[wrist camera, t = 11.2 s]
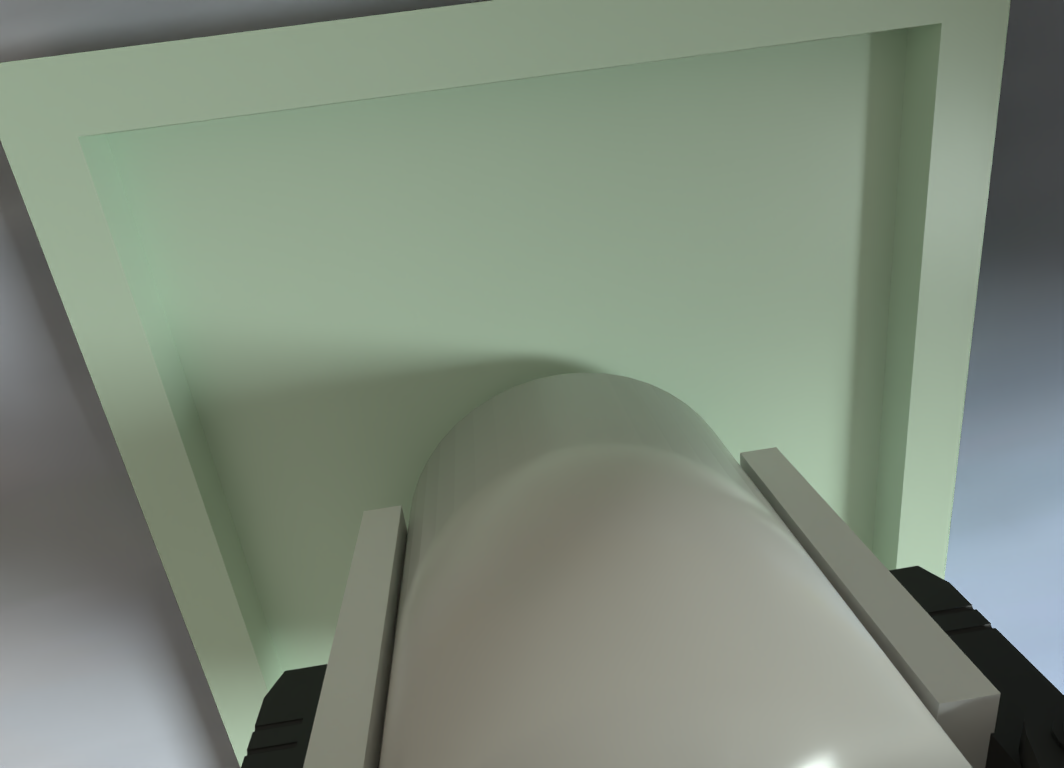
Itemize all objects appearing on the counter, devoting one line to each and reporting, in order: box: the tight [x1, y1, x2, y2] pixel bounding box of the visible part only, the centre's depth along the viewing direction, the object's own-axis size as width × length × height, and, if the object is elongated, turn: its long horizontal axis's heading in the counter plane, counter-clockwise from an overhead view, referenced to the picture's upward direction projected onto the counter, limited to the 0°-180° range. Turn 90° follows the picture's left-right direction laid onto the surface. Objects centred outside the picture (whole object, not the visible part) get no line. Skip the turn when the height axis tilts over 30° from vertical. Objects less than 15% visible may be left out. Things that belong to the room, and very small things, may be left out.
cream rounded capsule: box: [378, 372, 972, 768], centre depth 11 cm, size 7×7×8 cm
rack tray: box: [0, 0, 1011, 768], centre depth 16 cm, size 20×17×2 cm
